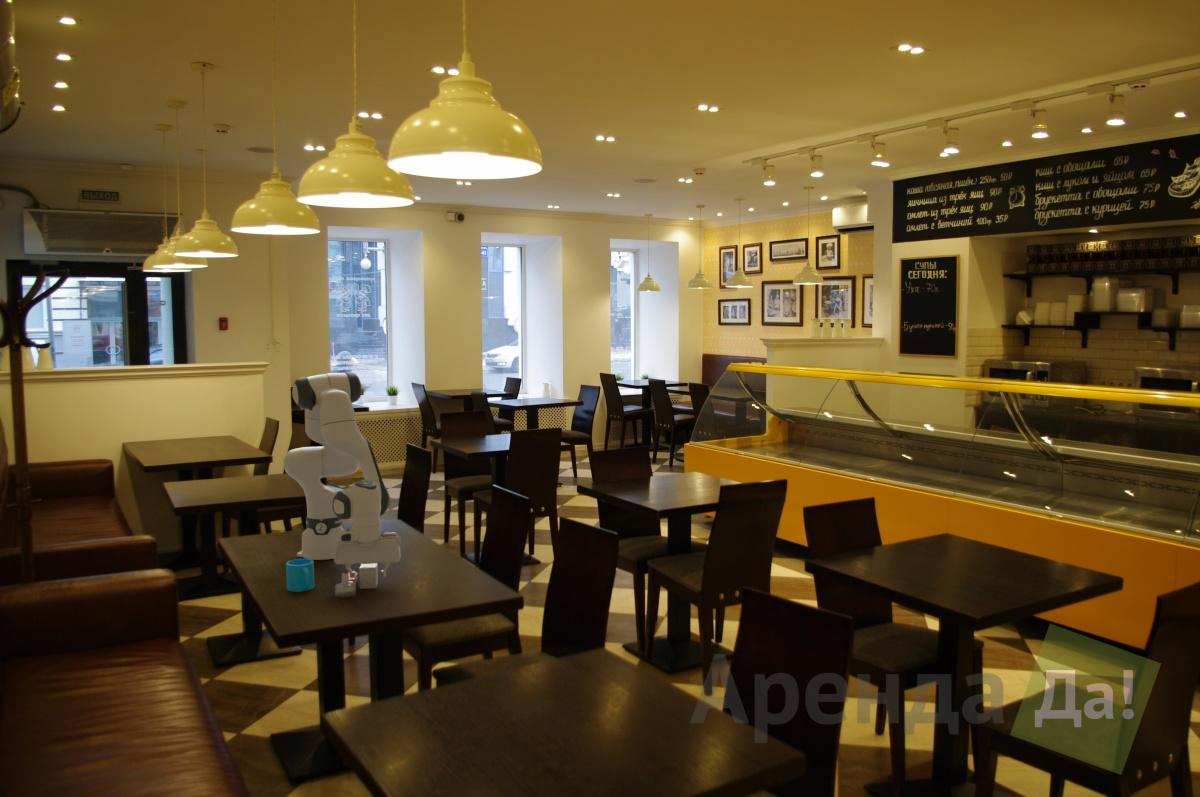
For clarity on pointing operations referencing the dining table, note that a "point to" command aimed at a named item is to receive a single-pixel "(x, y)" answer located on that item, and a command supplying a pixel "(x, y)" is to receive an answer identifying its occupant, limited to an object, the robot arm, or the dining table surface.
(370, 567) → the brushed steel block
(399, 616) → the dining table surface
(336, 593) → the ratchet
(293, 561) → the mug
